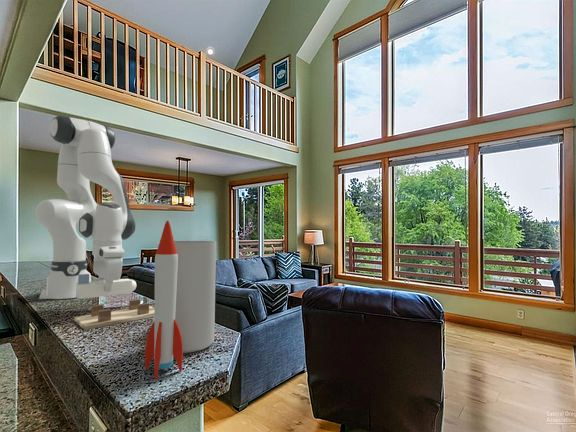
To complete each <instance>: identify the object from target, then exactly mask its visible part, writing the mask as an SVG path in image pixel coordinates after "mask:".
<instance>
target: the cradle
mask: <svg viewBox="0 0 576 432" xmlns="http://www.w3.org/2000/svg"><path fill="white" fill-rule="evenodd" d="M90 306H91V307H90V308H91V310H90V314H85V315H80V316H74V318H73V319H74V322H76V323H77V325H79V326H80V327H81V328H82V329H83V330H84V331H86V330H91V329H97V328H102V327H108V326H112V325H118V324H122V323H123V324H124V323H128V322H133V321H139V320H143V319H149V318H154V315H155V306H151V305H150V303H149V302H144V303H141V299H139V298H136V299H129V300H128V307H127V308H124V309H116V310H112V309H111V308H105V309H104V304H102V303H101V304H95V305H90Z"/></svg>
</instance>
